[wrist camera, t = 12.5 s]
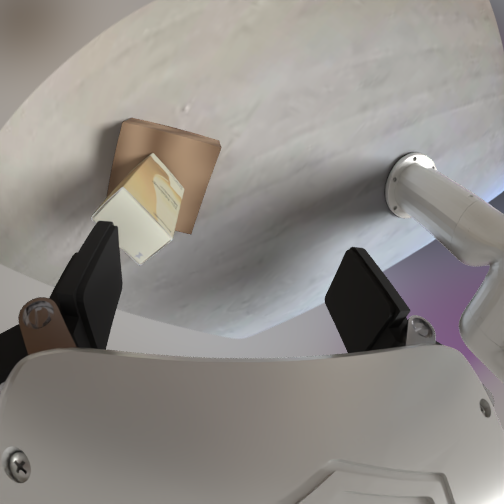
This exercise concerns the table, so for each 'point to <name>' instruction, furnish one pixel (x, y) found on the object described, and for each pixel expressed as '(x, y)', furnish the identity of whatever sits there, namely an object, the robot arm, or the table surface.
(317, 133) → the table surface
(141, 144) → the walnut block
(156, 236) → the skincare box
